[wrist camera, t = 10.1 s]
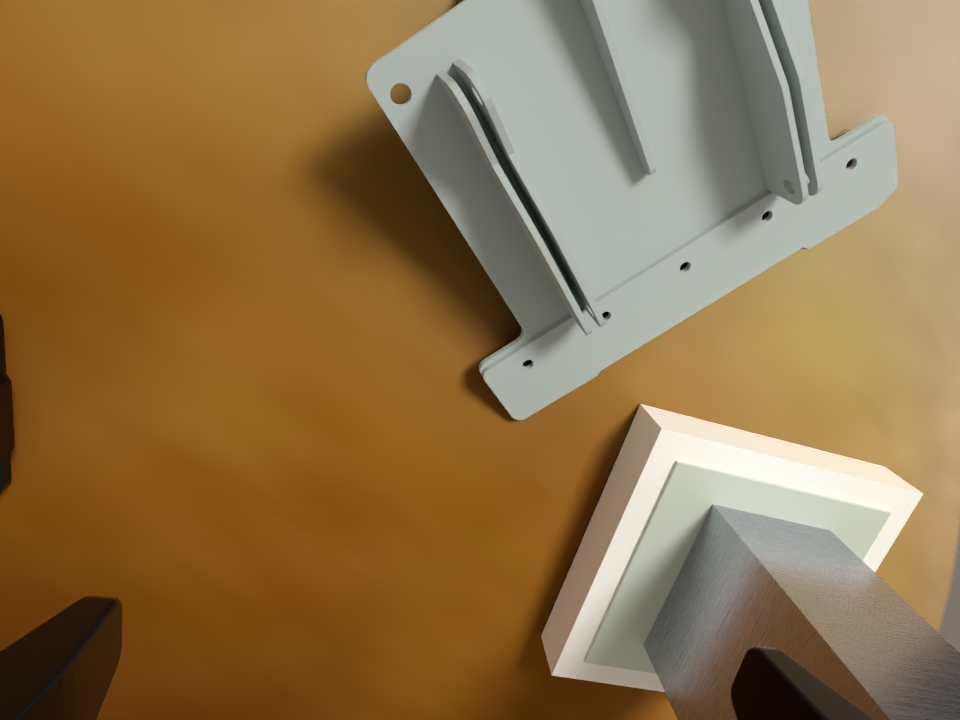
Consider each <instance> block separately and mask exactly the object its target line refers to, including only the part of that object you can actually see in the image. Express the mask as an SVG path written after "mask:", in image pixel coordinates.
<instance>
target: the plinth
mask: <svg viewBox="0 0 960 720" xmlns="http://www.w3.org/2000/svg"><path fill="white" fill-rule="evenodd" d="M922 495H923V493H921V492H920V491H919V490H917V489H916V488H914V487H913V486H911V485H910V484H909V483H907V482H906V481H904V480H903V479H901V478H900V477H899V476H897V475H896V474H894V473H893V472H892V471H890V470H889V469H887V468H886V467H884V466H880V465H877V464H873V463H869V462H865V461H861V460H857V459H853V458H849V457H845V456H841V455H838V454H834V453H830V452H826V451H822V450H818V449H814V448H810V447H806V446H803V445H799V444H795V443H791V442H787V441H783V440H779V439H775V438H771V437H767V436H764V435H760V434H756V433H752V432H748V431H744V430H740V429H736V428H732V427H728V426H725V425H721V424H717V423H713V422H709V421H705V420H701V419H697V418H693V417H689V416H686V415H682V414H678V413H674V412H670V411H666V410H662V409H658V408H654V407H650V406H647V405H643V404H640V406H639V408H638V410H637V413H636V415H635V417H634V420H633V422H632V424H631V427H630V429H629V431H628V434H627V436H626V438H625V441H624V443H623V445H622V448H621V450H620V452H619V455H618V457H617V459H616V462H615V464H614V466H613V469H612V471H611V473H610V476H609V478H608V481H607V483H606V485H605V488H604V490H603V492H602V495H601V497H600V499H599V502H598V504H597V506H596V509H595V511H594V513H593V516H592V518H591V520H590V523H589V525H588V527H587V530H586V532H585V534H584V537H583V539H582V541H581V544H580V546H579V548H578V551H577V553H576V555H575V558H574V560H573V562H572V565H571V567H570V569H569V572H568V574H567V576H566V579H565V581H564V583H563V586H562V588H561V590H560V593H559V595H558V597H557V600H556V602H555V604H554V607H553V609H552V611H551V614H550V616H549V618H548V621H547V623H546V625H545V628H544V630H543V632H542V635H541V638H542V642H543V646H544V649H545V653H546V657H547V660H548V664H549V668H550V671H551V675H552V676H559V677H566V678H572V679H579V680H586V681H593V682H599V683H606V684H613V685H620V686H626V687H633V688H640V689H647V690H653V691H660V692H665V691H664V689H663V686H662V684H661V682H660V680H659V678H658V676H657V674H656V671H655V669H654V667H653V665H652V663H651V661H650V659H649V656H648V654H647V652H646V650H645V648H644V646H643V645H644V643H645V640H646V638H647V636H648V634H649V632H650V630H651V628H652V626H653V624H654V622H655V620H656V618H657V616H658V614H659V612H660V610H661V608H662V606H663V604H664V602H665V600H666V598H667V596H668V594H669V592H670V590H671V588H672V586H673V584H674V582H675V580H676V578H677V576H678V574H679V572H680V570H681V568H682V566H683V564H684V561H685V559H686V557H687V555H688V553H689V551H690V549H691V547H692V545H693V543H694V541H695V539H696V537H697V535H698V533H699V531H700V529H701V527H702V525H703V523H704V521H705V519H706V517H707V515H708V513H709V511H710V509H711V507H712V505H713V504H714V505H719V506H723V507H728V508H732V509H736V510H741V511H745V512H750V513H754V514H759V515H763V516H768V517H772V518H777V519H781V520H786V521H790V522H795V523H799V524H804V525H808V526H813V527H817V528H822V529H826V530H830V531H831V532H832V533H833V534H834V535H836V536H837V537H838V538H839V539H840V540H841V541H842V542H843V543H844V544H845V545H846V546H847V547H848V548H849V549H850V550H851V551H852V552H854V553H855V554H856V555H857V556H858V557H859V558H860V559H861V560H862V561H863V562H864V563H865V564H866V565H867V566H868V567H869V568H871V569H872V570H873V571H874V572H876V570H877V568H878V567H879V565H880V564H881V562H882V560H883V559H884V557H885V555H886V554H887V552H888V550H889V549H890V547H891V546H892V544H893V542H894V541H895V539H896V537H897V536H898V534H899V533H900V531H901V529H902V528H903V526H904V524H905V523H906V521H907V520H908V518H909V516H910V515H911V513H912V511H913V510H914V508H915V507H916V505H917V503H918V502H919V500H920V498H921V497H922Z"/></svg>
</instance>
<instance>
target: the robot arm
mask: <svg viewBox="0 0 960 720" xmlns="http://www.w3.org/2000/svg"><path fill="white" fill-rule="evenodd" d="M13 449H14V428H13V408H12V387H11V380H10V378H9V377H8V375H7V374H6V367H5V347H4V328H3V320H2V316H1V315H0V493H1V492H2V491H4V490H5V489H6V488H7V487H8V486H9V485H10V483H11V464H10V452H11V451H12V450H13ZM121 647H122V604H121V601H120V600H119V599H117V598H114V597H100V596H86V597H84V598H82V599H80V600H78V601H77V602H75V603H74V604H72V605H71V606H69V607H68V608H66V609H65V610H63V611H62V612H60V613H59V614H57V615H56V616H54V617H53V618H51V619H50V620H48V621H46V622H45V623H43V624H42V625H40V626H39V627H37V628H36V629H34V630H33V631H31V632H30V633H28V634H27V635H25V636H24V637H22V638H21V639H19V640H18V641H16V642H15V643H13V644H12V645H10V646H9V647H7V648H6V649H4V650H3V651H1V652H0V720H96V718H97V716H98V713H99V711H100V708H101V706H102V703H103V701H104V698H105V696H106V693H107V691H108V688H109V686H110V683H111V681H112V678H113V676H114V673H115V671H116V668H117V665H118V662H119V659H120V654H121ZM731 701H732V705H733V708H734V711H735V714H736V717H737V720H874V719H873V718H871V717H870V716H869V715H867V714H866V713H864V712H863V711H862V710H860V709H859V708H858V707H856V706H855V705H854V704H852V703H851V702H850V701H848V700H847V699H846V698H844V697H843V696H841V695H840V694H839V693H837V692H836V691H835V690H833V689H832V688H831V687H829V686H828V685H827V684H825V683H824V682H822V681H821V680H820V679H818V678H817V677H816V676H814V675H813V674H812V673H810V672H809V671H808V670H806V669H805V668H804V667H802V666H801V665H799V664H798V663H797V662H795V661H794V660H793V659H791V658H790V657H789V656H787V655H786V654H785V653H783V652H782V651H780V650H779V649H776V648H772V647H759V646H754V647H751V648H749V649H748V650H747V651H746V653H745V655H744V657H743V660H742V662H741V664H740V667H739V669H738V671H737V673H736V676H735V678H734V680H733V683H732V685H731Z"/></svg>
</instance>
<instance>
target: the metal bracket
mask: <svg viewBox="0 0 960 720" xmlns="http://www.w3.org/2000/svg"><path fill="white" fill-rule="evenodd" d="M365 79H366V82H367V85H368V87H369V89H370V91H371V92H372V94H373V95H374V97H375V98H376V100H377V101H378V103H379V105H380V106H381V108H382V109H383V111H384V112H385V114H386V116H387V117H388V119H389V120H390V122H391V123H392V125H393V127H394V128H395V130H396V131H397V133H398V134H399V136H400V138H401V139H402V141H403V142H404V144H405V145H406V147H407V149H408V150H409V152H410V153H411V155H412V156H413V158H414V160H415V161H416V163H417V164H418V166H419V167H420V169H421V170H422V172H423V174H424V175H425V177H426V178H427V180H428V181H429V183H430V185H431V186H432V188H433V189H434V191H435V192H436V194H437V196H438V197H439V199H440V200H441V202H442V203H443V205H444V207H445V208H446V210H447V211H448V213H449V214H450V216H451V218H452V219H453V221H454V222H455V224H456V225H457V227H458V229H459V230H460V232H461V233H462V235H463V236H464V238H465V239H466V241H467V243H468V244H469V246H470V247H471V249H472V250H473V252H474V254H475V255H476V257H477V258H478V260H479V261H480V263H481V265H482V266H483V268H484V269H485V271H486V272H487V274H488V276H489V277H490V279H491V280H492V282H493V283H494V285H495V287H496V288H497V290H498V291H499V293H500V294H501V296H502V298H503V299H504V301H505V302H506V304H507V305H508V307H509V308H510V310H511V312H512V313H513V315H514V316H515V318H516V319H517V321H518V323H519V324H520V326H521V329H522V332H521V334H520V336H519V337H518V338H517V339H516V340H514V341H512V342H511V343H509V344H508V345H506V346H504V347H503V348H501V349H500V350H498V351H496V352H495V353H493V354H492V355H490V356H488V357H487V358H485V359H484V360H483V361H481V363H480V364H479V371H480V373H481V375H482V377H483V378H484V380H485V382H486V383H487V384H488V386H489V387H490V388H491V390H492V391H493V393H494V394H495V395H496V397H497V398H498V399H499V401H500V402H501V403H502V405H503V406H504V407H505V409H506V410H507V411H508V413H509V414H510V415H511V417H512V418H514V419H516V420H524V419H526V418H527V417H529V416H531V415H532V414H534V413H536V412H537V411H539V410H541V409H542V408H544V407H546V406H547V405H549V404H551V403H552V402H554V401H556V400H557V399H559V398H561V397H562V396H564V395H566V394H567V393H569V392H571V391H572V390H574V389H576V388H577V387H579V386H581V385H582V384H584V383H586V382H587V381H589V380H591V379H592V378H594V377H596V376H598V374H599V372H600V371H601V370H603V369H604V368H606V367H608V366H609V365H611V364H612V363H614V362H616V361H617V360H619V359H621V358H622V357H624V356H626V355H627V354H629V353H630V352H632V351H634V350H635V349H637V348H639V347H640V346H642V345H644V344H645V343H647V342H649V341H650V340H652V339H653V338H655V337H657V336H658V335H660V334H662V333H663V332H665V331H667V330H668V329H670V328H671V327H673V326H675V325H676V324H678V323H680V322H681V321H683V320H685V319H686V318H688V317H690V316H691V315H693V314H694V313H696V312H698V311H699V310H701V309H703V308H704V307H706V306H708V305H709V304H711V303H712V302H714V301H716V300H717V299H719V298H721V297H722V296H724V295H726V294H727V293H729V292H730V291H732V290H734V289H735V288H737V287H739V286H740V285H742V284H744V283H745V282H747V281H749V280H750V279H752V278H753V277H755V276H757V275H758V274H760V273H762V272H763V271H765V270H767V269H768V268H770V267H771V266H773V265H775V264H776V263H778V262H780V261H781V260H783V259H785V258H786V257H788V256H790V255H791V254H793V253H794V252H796V251H798V250H799V249H801V248H806V249H807V250H808V249H810V248H812V247H813V246H815V245H817V244H818V243H820V242H822V241H823V240H825V239H827V238H828V237H830V236H832V235H833V234H835V233H837V232H838V231H840V230H842V229H843V228H845V227H847V226H848V225H850V224H852V223H853V222H855V221H857V220H858V219H860V218H862V217H863V216H865V215H867V214H868V213H870V212H872V211H873V210H875V209H877V208H878V207H880V206H881V205H882V203H883V202H884V201H885V200H886V199H887V198H888V197H889V196H890V194H891V193H892V192H893V191H894V190H895V189H896V187H897V185H898V172H897V159H896V147H895V134H894V125H893V123H892V122H889V120H888V118H887V117H886V116H883V115H880V114H878V115H875V116H872V117H871V118H869V119H868V120H866V121H864V122H863V123H861V124H860V125H858V126H856V127H855V128H853V129H852V130H850V131H848V132H847V133H845V134H844V135H842V136H840V137H839V138H837V139H835V140H832V141H831V140H830V138H829V136H828V129H827V123H826V116H825V109H824V103H823V96H822V90H821V83H820V77H819V70H818V64H817V57H816V51H815V44H814V38H813V31H812V25H811V18H810V12H809V5H808V0H463V1H462V2H461V3H459V4H458V5H456V6H455V7H453V8H452V9H450V10H449V11H448V12H446V13H445V14H443V15H442V16H440V17H439V18H437V19H436V20H435V21H433V22H432V23H430V24H429V25H427V26H426V27H425V28H423V29H422V30H420V31H419V32H417V33H416V34H414V35H413V36H412V37H410V38H409V39H407V40H406V41H404V42H403V43H401V44H400V45H399V46H397V47H396V48H394V49H393V50H391V51H390V52H388V53H387V54H386V55H384V56H383V57H381V58H380V59H378V60H377V61H375V62H374V63H373V64H371V66H370V67H369V68H368V69H367V71H366V78H365ZM398 83H403V84H406V85H407V86H408V87H409V89H410V92H411V93H410V98H409V100H408V101H407V102H406V103H404V104H401V105H399V104H395V103H394V102H393V101H392V100H391V97H390V92H391V89H392V87H393V86H394V85H395V84H398ZM851 159H853V162H852V164H851V165H850V166H849V167H847V168H846V165H847V163H848V161H849V160H851ZM767 211H769V215H768V217H766V218H765V219H763V220H762V216H763V214H764V213H765V212H767ZM685 262H688V265H687V267H686V268H684V269H682V270H680V267H681V265H682V264H683V263H685ZM604 312H609V314H608V316H606V317H605V318H603V316H602V314H603V313H604ZM527 360H532V362H531V364H529V365H527V366H523V363H524V362H525V361H527Z"/></svg>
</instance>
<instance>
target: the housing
mask: <svg viewBox="0 0 960 720" xmlns="http://www.w3.org/2000/svg"><path fill="white" fill-rule="evenodd" d="M643 646H644V648H645V650H646V652H647V654H648V656H649V659H650V661H651V663H652V665H653V667H654V669H655V671H656V674H657V676H658V678H659V680H660V682H661V684H662V686H663V689H664V691H665V693H666V695H667V697H668V699H669V702H670V704H671V706H672V708H673V710H674V712H675V714H676V717H677V719H678V720H737V717H736V714H735V711H734V708H733V705H732V701H731V685H732V683H733V680H734V678H735V676H736V673H737V671H738V669H739V667H740V664H741V662H742V660H743V657H744V655H745V653H746V651H747V650H748V649H749V648H751V647H754V646H759V647H772V648H776V649H779V650H780V651H782V652H783V653H785V654H786V655H787V656H789V657H790V658H791V659H793V660H794V661H795V662H797V663H798V664H799V665H801V666H802V667H804V668H805V669H806V670H808V671H809V672H810V673H812V674H813V675H814V676H816V677H817V678H818V679H820V680H821V681H822V682H824V683H825V684H827V685H828V686H829V687H831V688H832V689H833V690H835V691H836V692H837V693H839V694H840V695H841V696H843V697H844V698H846V699H847V700H848V701H850V702H851V703H852V704H854V705H855V706H856V707H858V708H859V709H860V710H862V711H863V712H864V713H866V714H867V715H869V716H870V717H871V718H873V719H874V720H960V652H959V651H957V650H956V649H955V648H954V647H953V646H952V645H951V644H950V643H949V642H948V641H947V640H946V639H944V637H942V635H941V634H940V633H938V632H937V631H936V630H935V629H934V628H933V627H932V626H931V625H930V624H929V623H928V622H927V621H926V620H925V619H924V618H923V617H921V616H920V615H919V614H918V613H917V612H916V611H915V610H914V609H913V608H912V607H911V606H910V605H909V604H908V603H907V602H906V601H904V600H903V599H902V598H901V597H900V596H899V595H898V594H897V593H896V592H895V591H894V590H893V589H892V588H891V587H890V586H889V585H888V584H886V583H885V582H884V581H883V580H882V579H881V578H880V577H879V576H878V575H877V574H876V573H875V572H874V571H873V570H872V569H871V568H869V567H868V566H867V565H866V564H865V563H864V562H863V561H862V560H861V559H860V558H859V557H858V556H857V555H856V554H855V553H854V552H852V551H851V550H850V549H849V548H848V547H847V546H846V545H845V544H844V543H843V542H842V541H841V540H840V539H839V538H838V537H837V536H836V535H834V534H833V533H832V532H831V531H830V530H826V529H822V528H817V527H813V526H808V525H804V524H799V523H795V522H790V521H786V520H781V519H777V518H772V517H768V516H763V515H759V514H754V513H750V512H745V511H741V510H736V509H732V508H728V507H723V506H719V505H714V504H713V505H712V507H711V509H710V511H709V513H708V515H707V517H706V519H705V521H704V523H703V525H702V527H701V529H700V531H699V533H698V535H697V537H696V539H695V541H694V543H693V545H692V547H691V549H690V551H689V553H688V555H687V557H686V559H685V561H684V564H683V566H682V568H681V570H680V572H679V574H678V576H677V578H676V580H675V582H674V584H673V586H672V588H671V590H670V592H669V594H668V596H667V598H666V600H665V602H664V604H663V606H662V608H661V610H660V612H659V614H658V616H657V618H656V620H655V622H654V624H653V626H652V628H651V630H650V632H649V634H648V636H647V638H646V640H645V643H644V645H643Z"/></svg>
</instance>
